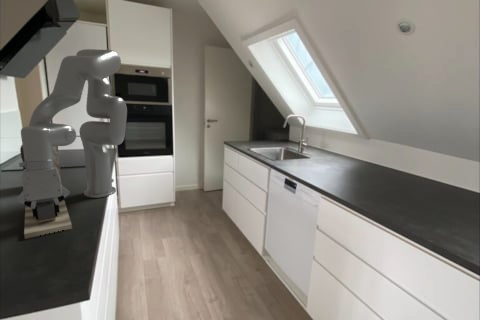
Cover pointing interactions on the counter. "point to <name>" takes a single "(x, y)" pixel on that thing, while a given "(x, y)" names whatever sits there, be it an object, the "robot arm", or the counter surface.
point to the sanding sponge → (45, 210)
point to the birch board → (46, 222)
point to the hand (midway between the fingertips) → (46, 215)
